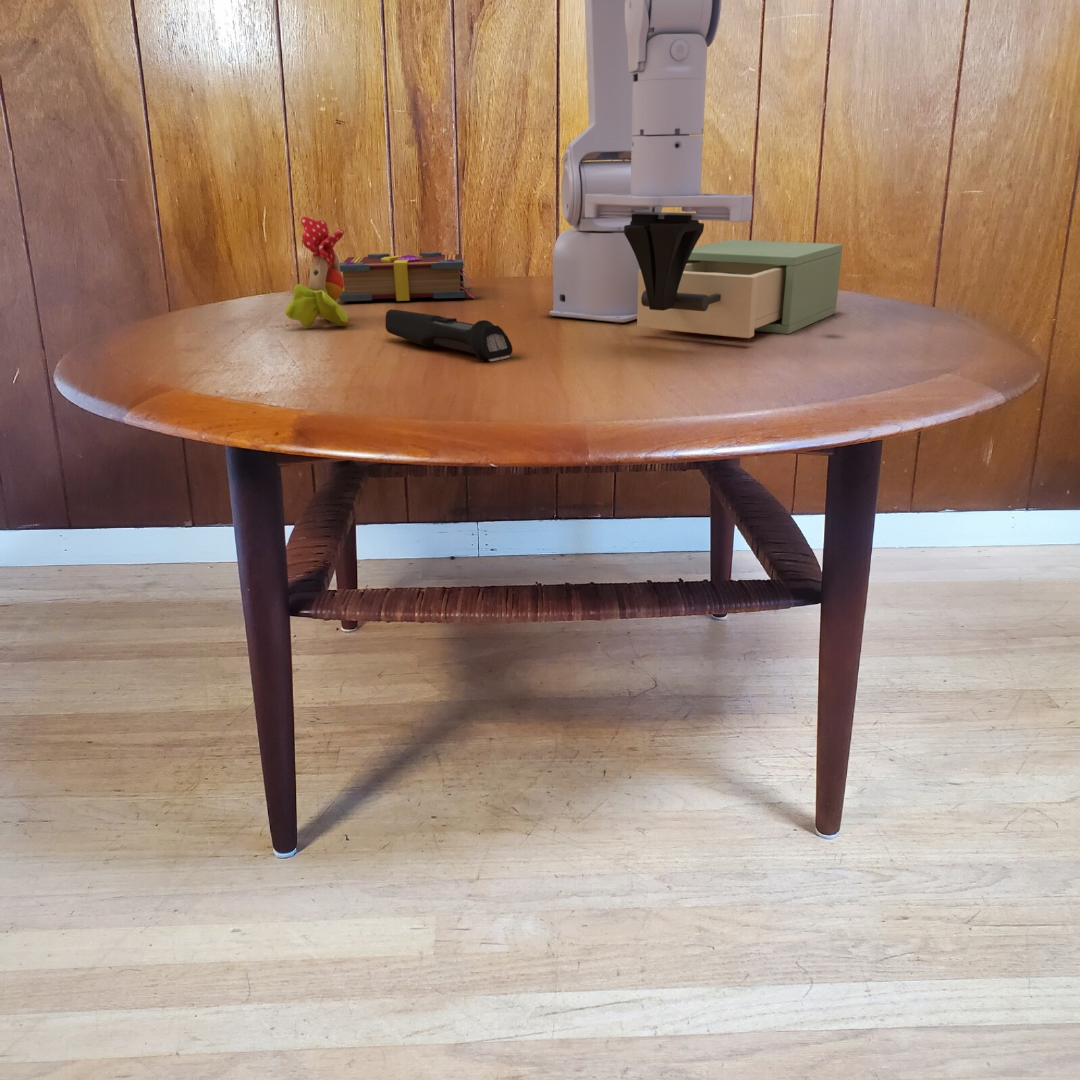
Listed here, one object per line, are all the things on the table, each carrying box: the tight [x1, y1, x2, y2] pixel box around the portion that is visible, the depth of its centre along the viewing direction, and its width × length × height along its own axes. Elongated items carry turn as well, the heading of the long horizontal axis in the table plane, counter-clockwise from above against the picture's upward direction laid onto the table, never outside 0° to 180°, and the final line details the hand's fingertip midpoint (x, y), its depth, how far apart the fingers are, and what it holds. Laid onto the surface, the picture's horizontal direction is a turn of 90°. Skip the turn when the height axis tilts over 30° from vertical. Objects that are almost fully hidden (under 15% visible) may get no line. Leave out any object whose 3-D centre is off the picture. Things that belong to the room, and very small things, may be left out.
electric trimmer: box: [384, 308, 513, 362], centre depth 84 cm, size 4×16×3 cm, turn 45°
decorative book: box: [339, 251, 475, 303], centre depth 115 cm, size 11×16×5 cm
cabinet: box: [687, 239, 844, 335], centre depth 95 cm, size 14×13×7 cm
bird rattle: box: [284, 216, 349, 329], centre depth 96 cm, size 6×11×9 cm
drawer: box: [636, 261, 787, 339], centre depth 87 cm, size 17×11×5 cm
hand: (661, 308), depth 79 cm, fingers closed
